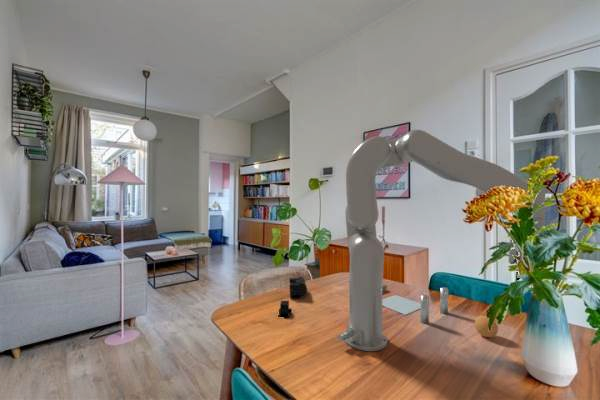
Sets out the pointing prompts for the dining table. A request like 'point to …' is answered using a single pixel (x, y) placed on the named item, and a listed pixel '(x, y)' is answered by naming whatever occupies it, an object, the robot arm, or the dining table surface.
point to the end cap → (297, 288)
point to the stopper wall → (384, 287)
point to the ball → (485, 327)
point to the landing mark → (401, 304)
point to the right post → (444, 300)
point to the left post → (425, 309)
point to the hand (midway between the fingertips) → (525, 289)
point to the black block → (285, 310)
